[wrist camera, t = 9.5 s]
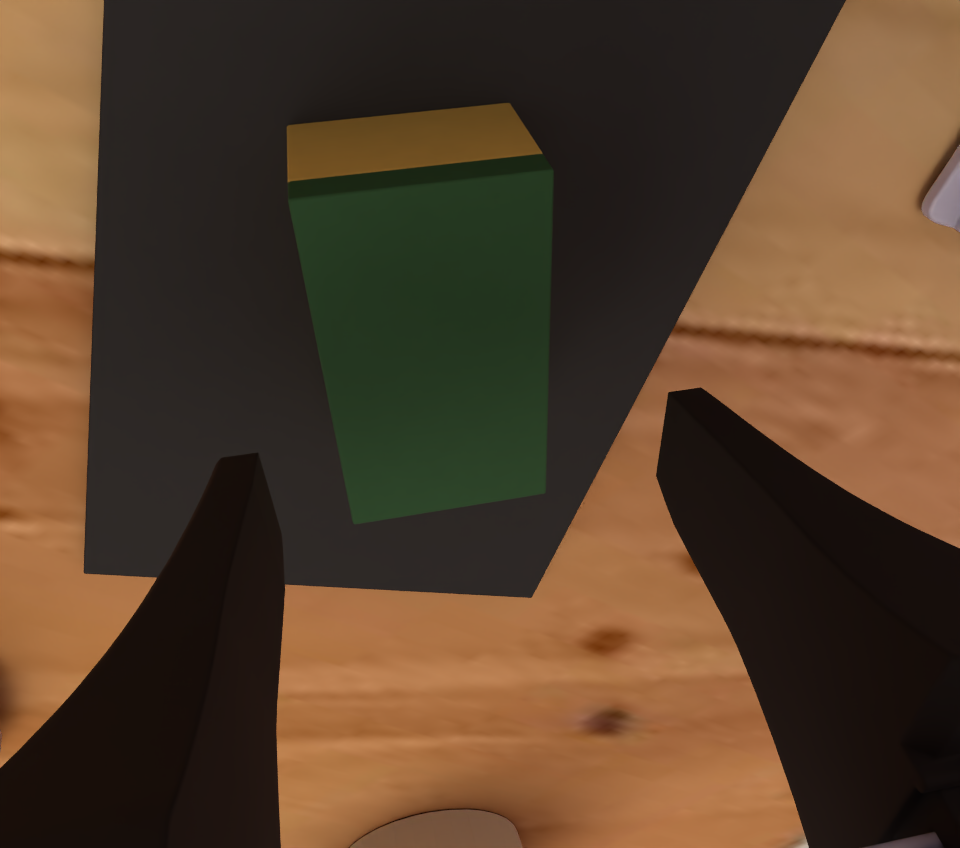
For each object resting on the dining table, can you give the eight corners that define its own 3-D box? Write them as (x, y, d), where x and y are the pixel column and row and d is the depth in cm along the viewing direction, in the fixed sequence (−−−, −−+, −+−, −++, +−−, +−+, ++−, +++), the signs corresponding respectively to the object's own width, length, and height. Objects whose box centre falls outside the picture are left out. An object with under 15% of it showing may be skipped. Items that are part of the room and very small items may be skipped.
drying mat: (529, 589, 28) (531, 598, 28) (86, 563, 23) (83, 574, 23) (856, -42, 17) (866, -39, 16) (120, -342, 12) (115, -345, 12)
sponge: (513, 402, 22) (546, 494, 19) (343, 427, 21) (353, 525, 19) (509, 101, 17) (554, 169, 14) (286, 124, 16) (287, 199, 13)
